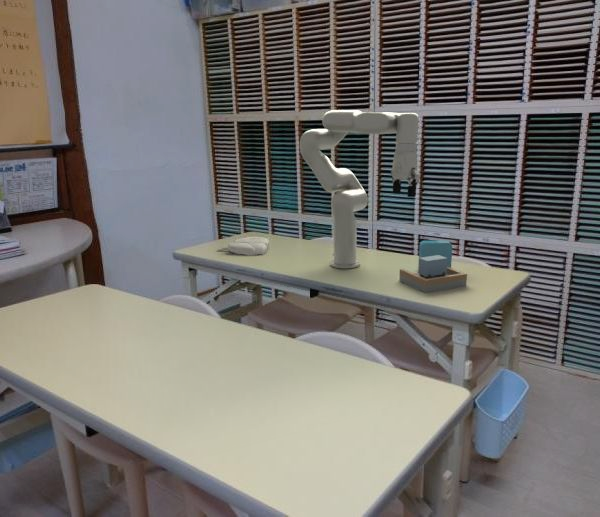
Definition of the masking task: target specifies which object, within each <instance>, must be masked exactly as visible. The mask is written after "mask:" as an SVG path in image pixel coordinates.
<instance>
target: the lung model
mask: <svg viewBox="0 0 600 517" xmlns="http://www.w3.org/2000/svg"><path fill="white" fill-rule="evenodd" d="M269 246H270V239H269V238H266V237H261V236H260V237H259V236H249V237H248V236H247V237H243V238H238V239H236V240H233V241H232V242H230V243H228V246H223V247H220V248H217V249H216V250H217V252H221V251H222V252H223V251H226V250H228V251H230V252H231V253H233V254H237V255H240V254H246V255H245V256H258V255H257V254H263V255H265V254H266V253H267V251H268V250H269V248H270V247H269ZM264 253H265V254H264Z"/></svg>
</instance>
